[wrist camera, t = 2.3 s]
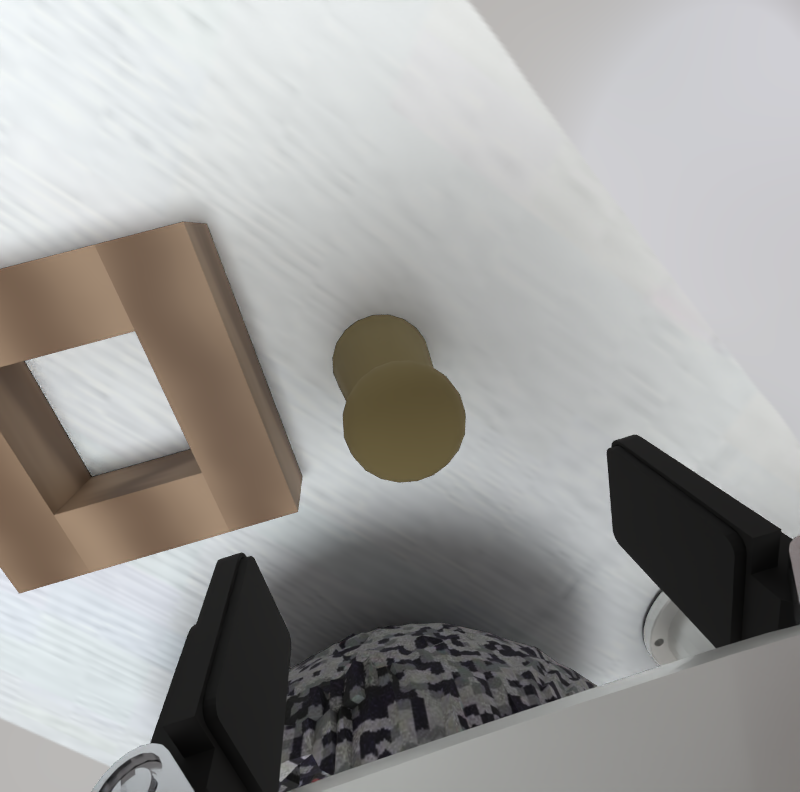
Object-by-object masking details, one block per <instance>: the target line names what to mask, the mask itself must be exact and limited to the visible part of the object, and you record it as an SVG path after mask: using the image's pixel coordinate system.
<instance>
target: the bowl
mask: <svg viewBox="0 0 800 792" xmlns="http://www.w3.org/2000/svg"><path fill="white" fill-rule="evenodd" d="M595 687H598V686H597V685H595V684H593V683H592V682H590V681H589V680H587V679H586V678H584V677H583V676H581V675H579V674H578V673H576V672H575V671H573V670H572V669H569V668H567V667H565V666H563V665H561V664H559V663H557V662H556V661H555V660H553V659H552V658H550V657H549V656H548V655H546V654H545V653H543V652H542V651H540V650H539V649H538V648H536V647H532V646H528V645H525V644H521V643H518V642H514V641H510V640H506V639H504V638H501V637H499V636H496V635H493V634H491V633H488V632H483V631H478V630H473V629H469V628H466V627H460V626H456V625H452V624H446V623H429V624H406V625H403V626H388V627H384V628H383V627H378V628H377V629H376V630H373V631H370V632H367V633H360V634H358V635H356V634H354V633H353V634H351V635H350V636H348V637H347V638H345V639H344V640H342V641H341V642H339V643H335V644H334V645H332V646H330V647H329V648H327V649H325V650H324V651H322V652H320V653H318V654H316V655H314V656H312V657H310V658H308V659H307V660H305V661H304V662H302V663H301V664H299V665H297V666H295V667H293V668H292V669H290V670H289V676H288V688H287V699H286V711H285V722H284V733H283V745H282V756H281V768H280V779H279V791H278V792H287V791H290V790H293V789H296V788H299V787H301V786H304V785H307V784H310V783H313V782H315V781H318V780H321V779H324V778H327V777H329V776H332V775H335V774H338V773H340V772H343V771H346V770H349V769H352V768H355V767H358V766H361V765H364V764H367V763H370V762H373V761H376V760H379V759H382V758H385V757H388V756H391V755H393V754H396V753H399V752H402V751H405V750H408V749H411V748H414V747H417V746H420V745H423V744H426V743H429V742H432V741H435V740H438V739H441V738H444V737H447V736H450V735H453V734H456V733H459V732H462V731H465V730H468V729H471V728H474V727H477V726H480V725H483V724H486V723H489V722H492V721H495V720H498V719H501V718H504V717H507V716H510V715H513V714H516V713H519V712H522V711H525V710H528V709H531V708H534V707H537V706H540V705H543V704H546V703H549V702H552V701H555V700H558V699H561V698H564V697H567V696H570V695H573V694H576V693H579V692H582V691H585V690H589V689H592V688H595Z"/></svg>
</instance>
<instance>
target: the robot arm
mask: <svg viewBox="0 0 800 792" xmlns="http://www.w3.org/2000/svg"><path fill="white" fill-rule="evenodd" d="M607 462H608V475H609V488H610V501H611V513H612V526H613V533H614V536H615V538H616V540H617V542H618V543H619V545H620V546H621V547H622V548H623V549H624V550H625V551H626V552H627V553H628V554H629V555H630V556H631V558H632V559H633V560H634V561H635V562H636V563H637V564H638V565H639V566H640V567H641V568H642V569H643V570H644V572H645V573H646V574H647V575H648V576H649V577H650V578H651V579H652V580H653V581H654V582H655V583H656V584H657V586H658V587H659V588H660V589H661V590H662V592H661V593H660V595H659V596H658V597H657V599H656V600H655V602H654V603H653V605H652V606H651V608H650V611H649V613H648V615H647V617H646V622H645V626H644V642H645V645H646V648H647V650H648V652H649V653H650V655H651V656H652V658H653V659H654V660H655V661H656V662H657V664H658V665H659V667H656V668H653V669H650V670H647V671H644V672H641V673H638V674H635V675H632V676H629V677H625V678H622V679H619V680H616V681H613V682H610V683H607V684H604V685H601V686H598V687H595V688H592V689H589V690H585V691H582V692H579V693H576V694H573V695H570V696H567V697H564V698H561V699H558V700H555V701H552V702H549V703H546V704H543V705H540V706H537V707H534V708H531V709H528V710H525V711H522V712H519V713H516V714H513V715H510V716H507V717H504V718H501V719H498V720H495V721H492V722H489V723H486V724H483V725H480V726H477V727H474V728H471V729H468V730H465V731H462V732H459V733H456V734H453V735H450V736H447V737H444V738H441V739H438V740H435V741H432V742H429V743H426V744H423V745H420V746H417V747H414V748H411V749H408V750H405V751H402V752H399V753H396V754H393V755H391V756H388V757H385V758H382V759H379V760H376V761H373V762H370V763H367V764H364V765H361V766H358V767H355V768H352V769H349V770H346V771H343V772H340V773H338V774H335V775H332V776H329V777H327V778H324V779H321V780H318V781H315V782H313V783H310V784H307V785H304V786H301V787H299V788H296V789H293V790H290V791H287V792H800V536H797V537H795V538H794V539H791V538H790V537H788V536H787V535H785V534H784V533H782V532H781V529H780V528H778V527H777V526H775V525H774V524H772V523H771V522H769V521H768V520H766V519H765V518H763V517H762V516H760V515H759V514H757V513H756V512H754V511H752V510H751V509H749V508H748V507H746V506H745V505H743V504H742V503H740V502H739V501H737V500H736V499H734V498H733V497H731V496H730V495H728V494H727V493H725V492H724V491H722V490H721V489H719V488H718V487H716V486H715V485H713V484H711V483H710V482H708V481H707V480H705V479H704V478H702V477H701V476H699V475H698V474H696V473H695V472H693V471H692V470H690V469H689V468H687V467H686V466H684V465H683V464H681V463H680V462H678V461H677V460H675V459H674V458H672V457H670V456H669V455H667V454H666V453H664V452H663V451H661V450H660V449H658V448H657V447H655V446H654V445H652V444H651V443H649V442H648V441H646V440H645V439H643V438H642V437H640V436H638V435H632V436H628V437H625V438H622V439H618V440H615V441H613V443H612V447H611V448H609V449H608V450H607ZM290 653H291V640H290V635H289V632H288V630H287V627H286V625H285V623H284V621H283V619H282V617H281V615H280V612H279V610H278V608H277V606H276V604H275V602H274V600H273V597H272V595H271V593H270V591H269V589H268V587H267V585H266V582H265V580H264V578H263V576H262V574H261V572H260V570H259V567H258V565H257V563H256V561H255V559H254V558H253V557H252V556H249V557H246V555H245V554H244V553H239V554H235V555H232V556H229V557H225V558H222V559H219V560H218V562H217V564H216V567H215V570H214V573H213V576H212V579H211V582H210V585H209V588H208V591H207V594H206V597H205V600H204V603H203V606H202V609H201V612H200V615H199V618H198V621H197V624H196V625H194V626H193V627H192V628H191V629H190V631H189V633H188V636H187V639H186V641H185V644H184V647H183V650H182V653H181V656H180V659H179V662H178V665H177V668H176V670H175V673H174V676H173V679H172V682H171V685H170V688H169V691H168V694H167V696H166V699H165V702H164V705H163V708H162V711H161V714H160V717H159V720H158V723H157V725H156V728H155V731H154V734H153V737H152V740H151V743H150V744H146V745H142V746H139V747H138V748H136V749H134V750H132V751H130V752H128V753H127V754H125V755H124V756H123V757H122V758H120V759H119V760H118V761H116V762H115V763H114V764H113V765H112V766H111V767H110V768H109V769H108V770H107V771H106V773H105V774H104V775H103V776H102V777H101V778H100V780H99V781H98V783H97V784H96V785H95V787H94V788H93V790H92V791H91V792H278V791H279V779H280V768H281V756H282V745H283V733H284V722H285V711H286V699H287V688H288V676H289V665H290Z"/></svg>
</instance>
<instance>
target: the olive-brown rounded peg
mask: <svg viewBox="0 0 800 792" xmlns="http://www.w3.org/2000/svg"><path fill="white" fill-rule="evenodd" d="M332 359H333V373H334V376H335V378H336V381H337V383H338V386H339V388H340V390H341V392H342V394H343V396H344V398H345V400H346V405H345V408H344V412H343V428H344V438H345V441H346V443H347V445H348V448H349V450H350V452H351V454H352V455H353V457H354V458H355V459H356V460H357V461H358V462H359V464H360V465H361V466H362V467H363V468H364V469H365V470H366V471H368V472H370V473H371V474H373V475H375V476H377V477H379V478H381V479H384V480H389V481H394V482H411V481H419V480H421V479H424V478H427V477H429V476H432V475H434V474H435V473H437V472H438V471H439V470H441V469H442V468H443V467H445V466H446V465H447V464H448V463H449V462H450V461H451V459H452V458H453V457H454V455H455V454H456V453H457V452H458V450H459V448H460V445H461V443H462V440H463V437H464V435H465V418H466V416H465V410H464V406H463V403H462V400H461V397H460V394H459V393H458V391H457V390H456V389H455V387H454V386H453V385H452V383H451V382H450V381H449V379H448V378H447V377H446V376H445V375H443V374H442V373H440V372H439V371H437V370H436V369H434V368H433V365H432V362H431V358H430V354H429V351H428V348H427V345H426V342H425V339H424V338H423V337H422V335H421V334H420V333H419V331H418V330H417V329H416V327H414V326H413V325H411V324H410V323H408V322H407V321H405V320H404V319H401V318H398V317H395V316H391V315H372V316H369V317H366V318H364V319H361V320H358V321H357V322H355V323H354V324H353V325H351V326H350V327H349V328H348V329H346V330H345V331H344V333H343V334H342V336H341V337H340V339H339V340H338V342H337V343H336V347H335V351H334V354H333V358H332Z"/></svg>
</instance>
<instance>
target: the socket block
mask: <svg viewBox="0 0 800 792" xmlns="http://www.w3.org/2000/svg"><path fill="white" fill-rule="evenodd" d="M133 331H135V332H136V334H137V336H138V338H139V341H140V343H141V345H142V347H143V349H144V351H145V353H146V355H147V357H148V360H149V362H150V364H151V366H152V368H153V370H154V372H155V374H156V376H157V379H158V381H159V383H160V385H161V387H162V389H163V391H164V393H165V396H166V398H167V400H168V402H169V404H170V406H171V408H172V410H173V412H174V415H175V417H176V419H177V421H178V423H179V425H180V427H181V429H182V432H183V434H184V436H185V438H186V440H187V442H188V444H189V446H190V448H191V449H189V450H186V451H182V452H179V453H175V454H172V455H168V456H165V457H161V458H158V459H154V460H150V461H147V462H143V463H140V464H136V465H133V466H129V467H126V468H122V469H119V470H115V471H112V472H108V473H105V474H101V475H97V476H94V477H91V475H90V474H89V472H88V470H87V469H86V467H85V465H84V463H83V462H82V460H81V458H80V457H79V455H78V453H77V451H76V450H75V448H74V446H73V444H72V443H71V441H70V439H69V438H68V436H67V434H66V432H65V431H64V429H63V427H62V426H61V424H60V422H59V420H58V419H57V417H56V415H55V413H54V412H53V410H52V408H51V407H50V405H49V403H48V401H47V400H46V398H45V396H44V395H43V393H42V391H41V389H40V388H39V386H38V384H37V382H36V381H35V379H34V377H33V376H32V374H31V372H30V370H29V369H28V367H27V365H26V364H25V362H24V361H25V360H29V359H33V358H37V357H40V356H44V355H48V354H52V353H55V352H59V351H63V350H66V349H70V348H74V347H78V346H81V345H85V344H89V343H92V342H96V341H100V340H104V339H107V338H111V337H115V336H119V335H122V334H126V333H130V332H133ZM301 484H302V475H301V472H300V469H299V467H298V464H297V461H296V459H295V456H294V453H293V451H292V448H291V446H290V443H289V440H288V438H287V435H286V432H285V430H284V427H283V424H282V422H281V419H280V416H279V414H278V411H277V408H276V406H275V403H274V401H273V398H272V395H271V393H270V390H269V387H268V385H267V382H266V379H265V377H264V374H263V371H262V369H261V366H260V364H259V361H258V358H257V356H256V353H255V350H254V348H253V345H252V342H251V340H250V337H249V334H248V332H247V329H246V326H245V324H244V321H243V319H242V316H241V313H240V311H239V308H238V305H237V303H236V300H235V297H234V295H233V292H232V289H231V287H230V284H229V282H228V279H227V276H226V274H225V271H224V268H223V266H222V263H221V260H220V258H219V255H218V252H217V250H216V247H215V244H214V242H213V239H212V237H211V234H210V231H209V229H208V226H207V224H204V223H193V222H180V223H176V224H172V225H169V226H165V227H161V228H157V229H153V230H149V231H145V232H141V233H138V234H134V235H130V236H126V237H122V238H118V239H114V240H111V241H107V242H103V243H99V244H95V245H91V246H87V247H83V248H80V249H76V250H72V251H68V252H64V253H60V254H56V255H52V256H49V257H45V258H41V259H37V260H33V261H29V262H25V263H21V264H18V265H14V266H10V267H6V268H2V269H0V568H1V569H2V571H3V572H4V573H5V575H6V576H7V577H8V579H9V580H10V581H11V583H12V584H13V586H14V587H15V588H16V590H17V591H18V592H19V593H23V592H26V591H29V590H33V589H36V588H40V587H43V586H46V585H50V584H53V583H57V582H60V581H64V580H67V579H70V578H74V577H77V576H81V575H84V574H87V573H91V572H94V571H98V570H101V569H104V568H108V567H111V566H115V565H118V564H122V563H125V562H128V561H132V560H135V559H139V558H142V557H145V556H149V555H152V554H156V553H159V552H163V551H166V550H169V549H173V548H176V547H180V546H183V545H186V544H190V543H193V542H197V541H200V540H203V539H207V538H210V537H214V536H217V535H221V534H224V533H227V532H231V531H234V530H238V529H241V528H244V527H248V526H251V525H255V524H258V523H262V522H265V521H268V520H272V519H275V518H279V517H282V516H285V515H289V514H292V513H296V512H298V508H299V500H300V492H301Z"/></svg>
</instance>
